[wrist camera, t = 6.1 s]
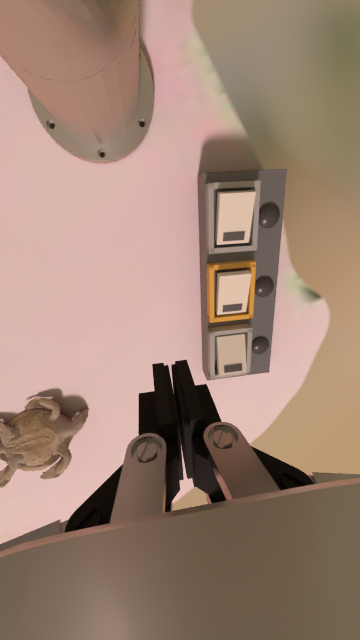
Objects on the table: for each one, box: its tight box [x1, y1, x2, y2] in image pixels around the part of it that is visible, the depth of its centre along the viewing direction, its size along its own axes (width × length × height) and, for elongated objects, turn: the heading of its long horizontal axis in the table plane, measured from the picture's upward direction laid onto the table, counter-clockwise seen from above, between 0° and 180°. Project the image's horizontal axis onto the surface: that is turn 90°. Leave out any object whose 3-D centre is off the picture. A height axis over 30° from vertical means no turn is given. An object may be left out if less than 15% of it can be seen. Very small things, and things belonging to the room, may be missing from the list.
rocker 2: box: [215, 333, 247, 376], centre depth 37 cm, size 6×4×1 cm
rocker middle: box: [215, 270, 252, 315], centre depth 33 cm, size 6×4×1 cm
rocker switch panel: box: [198, 169, 287, 380], centre depth 36 cm, size 28×10×4 cm, turn 3°
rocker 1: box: [215, 190, 256, 245], centre depth 30 cm, size 6×4×1 cm
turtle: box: [0, 398, 88, 488], centre depth 39 cm, size 16×10×10 cm, turn 129°
